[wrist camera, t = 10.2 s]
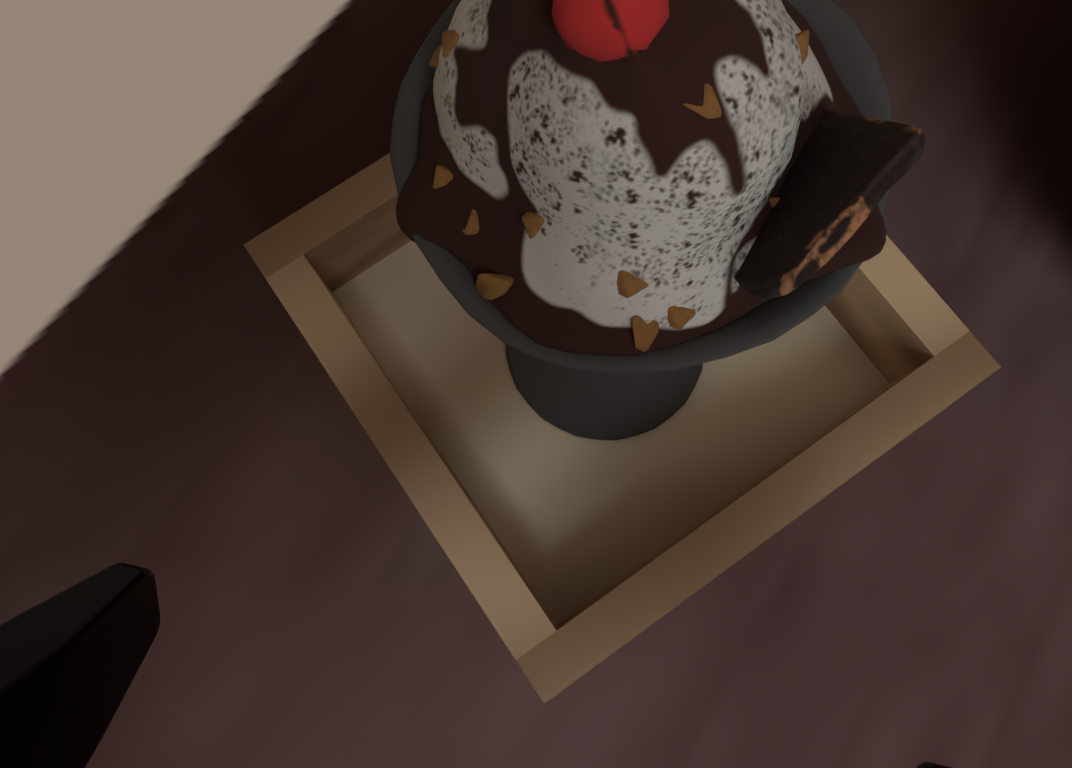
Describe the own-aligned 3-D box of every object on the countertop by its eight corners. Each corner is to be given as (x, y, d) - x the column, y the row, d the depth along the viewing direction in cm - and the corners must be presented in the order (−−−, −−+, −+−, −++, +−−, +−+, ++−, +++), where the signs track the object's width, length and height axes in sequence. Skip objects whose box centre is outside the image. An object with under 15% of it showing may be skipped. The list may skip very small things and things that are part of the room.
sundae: (439, 263, 21) (171, -415, 7) (686, 191, 22) (936, -614, 7) (510, 510, 20) (361, 309, 5) (776, 429, 20) (1329, 25, 6)
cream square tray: (930, 401, 21) (1001, 367, 18) (546, 683, 20) (544, 703, 17) (649, 66, 24) (665, -21, 20) (290, 296, 22) (243, 244, 19)
